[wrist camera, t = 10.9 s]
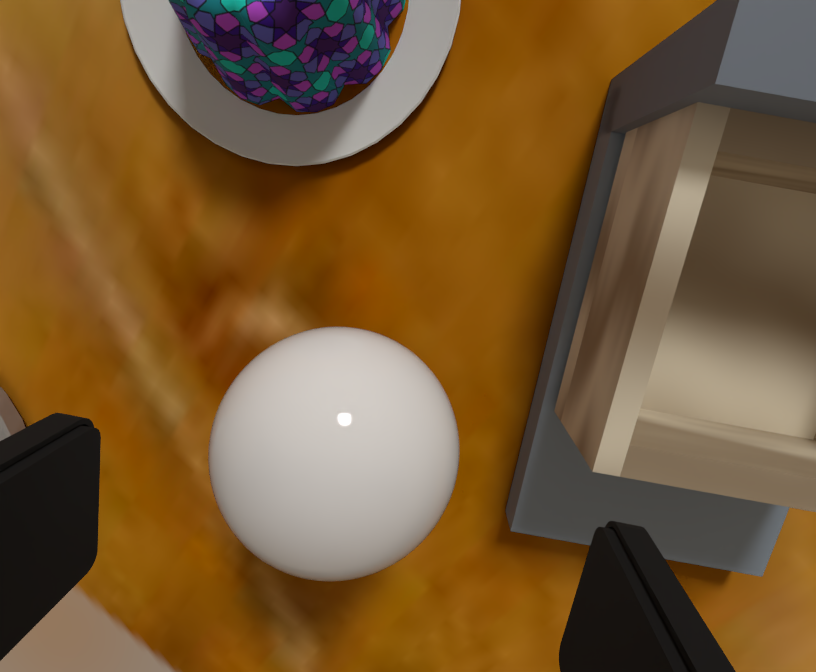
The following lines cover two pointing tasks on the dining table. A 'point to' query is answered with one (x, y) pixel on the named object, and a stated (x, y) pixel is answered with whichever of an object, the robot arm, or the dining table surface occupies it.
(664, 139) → the box
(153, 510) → the dining table surface
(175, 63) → the pudding
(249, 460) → the lightbulb
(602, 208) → the base
